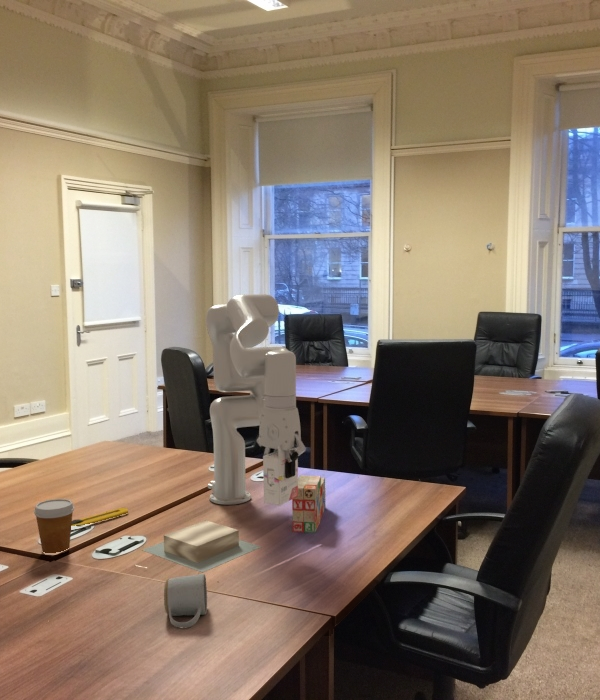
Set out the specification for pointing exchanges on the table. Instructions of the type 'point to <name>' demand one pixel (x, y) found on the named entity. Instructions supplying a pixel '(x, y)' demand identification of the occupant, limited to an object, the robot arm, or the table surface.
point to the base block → (201, 541)
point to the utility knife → (100, 517)
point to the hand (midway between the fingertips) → (280, 473)
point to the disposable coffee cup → (54, 524)
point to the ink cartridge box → (278, 479)
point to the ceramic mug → (186, 598)
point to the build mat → (208, 563)
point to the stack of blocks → (308, 504)
